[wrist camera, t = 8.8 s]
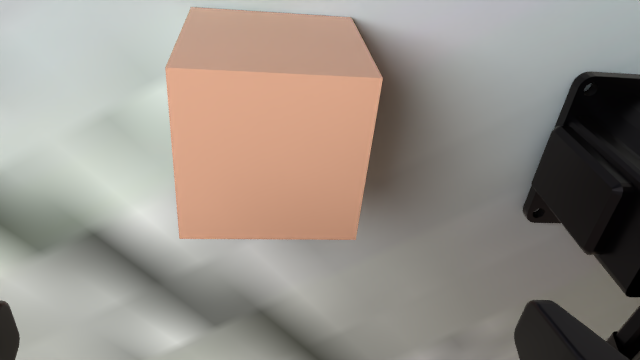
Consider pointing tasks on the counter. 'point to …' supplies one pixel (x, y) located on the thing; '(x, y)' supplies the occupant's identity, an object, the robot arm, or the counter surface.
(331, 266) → the counter surface
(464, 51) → the counter surface
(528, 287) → the counter surface
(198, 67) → the terracotta cube
